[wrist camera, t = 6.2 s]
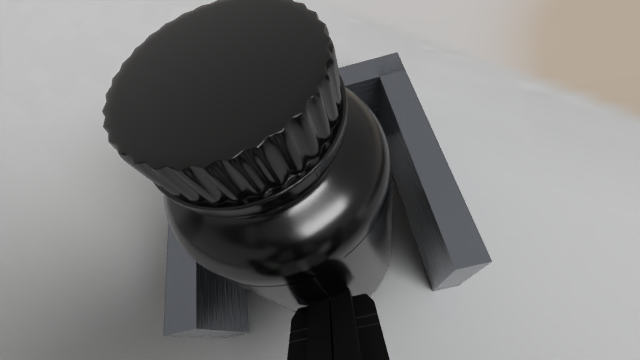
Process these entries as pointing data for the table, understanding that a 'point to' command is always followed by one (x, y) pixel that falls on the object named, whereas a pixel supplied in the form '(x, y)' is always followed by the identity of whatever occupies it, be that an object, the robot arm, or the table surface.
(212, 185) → the supplement bottle
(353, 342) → the robot arm
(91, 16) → the table surface
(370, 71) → the keeper cradle
